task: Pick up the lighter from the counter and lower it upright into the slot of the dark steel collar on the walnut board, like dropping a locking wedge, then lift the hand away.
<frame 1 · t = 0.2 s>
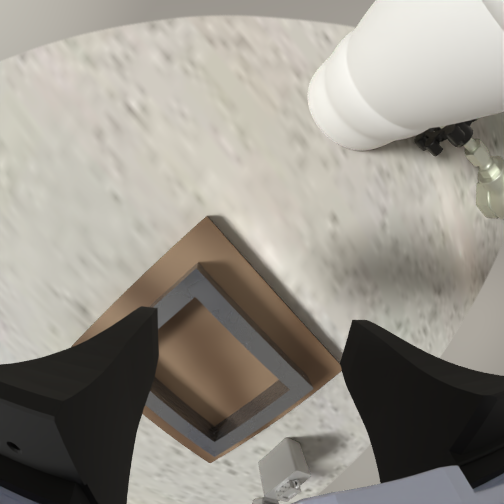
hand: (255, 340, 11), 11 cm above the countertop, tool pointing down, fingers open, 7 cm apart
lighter: (268, 461, 25), on the countertop
walnut board: (206, 359, 22), on the countertop
steel collar: (205, 365, 21), resting on walnut board
valve: (462, 169, 23), on the countertop
water bottle: (350, 106, 21), on the countertop
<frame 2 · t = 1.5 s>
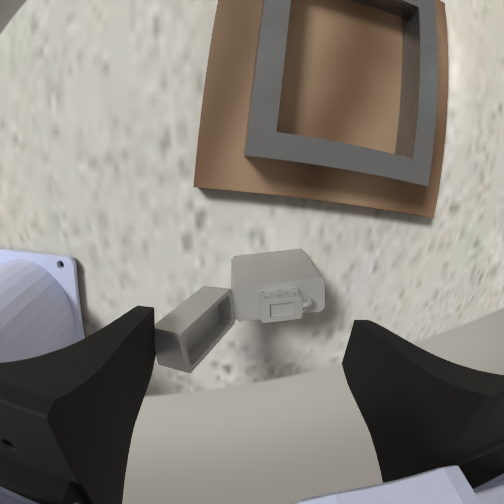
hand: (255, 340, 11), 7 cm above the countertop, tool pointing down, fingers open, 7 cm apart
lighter: (243, 268, 18), on the countertop, touching gripper
walnut board: (338, 69, 15), on the countertop
steel collar: (344, 65, 14), resting on walnut board
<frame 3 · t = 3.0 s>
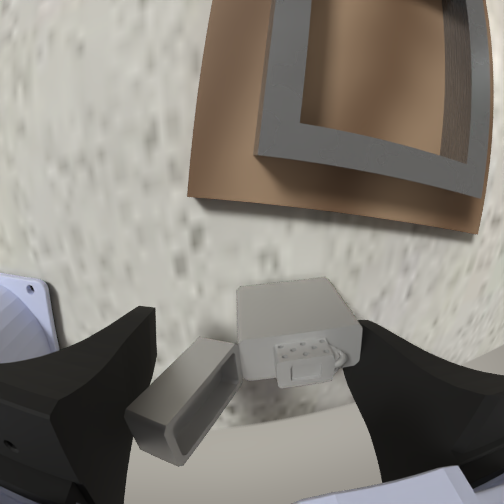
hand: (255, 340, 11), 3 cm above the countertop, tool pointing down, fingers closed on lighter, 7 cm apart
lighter: (251, 301, 14), on the countertop, touching gripper
walnut board: (370, 50, 11), on the countertop
steel collar: (380, 44, 10), resting on walnut board
when the fingers open (10 cm above the countertop, at t = 4.2 s): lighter drops 5 cm, resting on walnut board.
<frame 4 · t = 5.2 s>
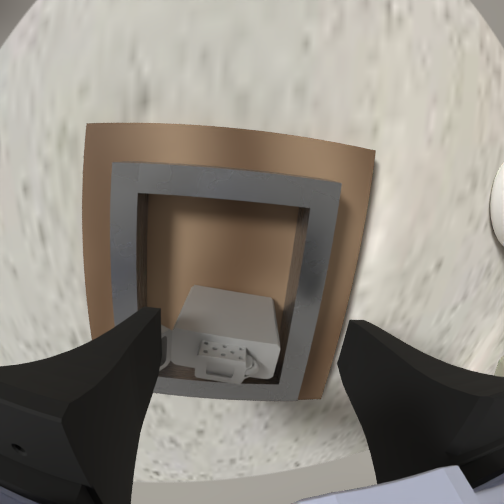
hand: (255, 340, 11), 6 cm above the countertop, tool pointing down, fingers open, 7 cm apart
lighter: (201, 300, 16), point 1 cm above the countertop, touching gripper, walnut board
walnut board: (217, 277, 17), on the countertop
steel collar: (216, 285, 16), resting on walnut board
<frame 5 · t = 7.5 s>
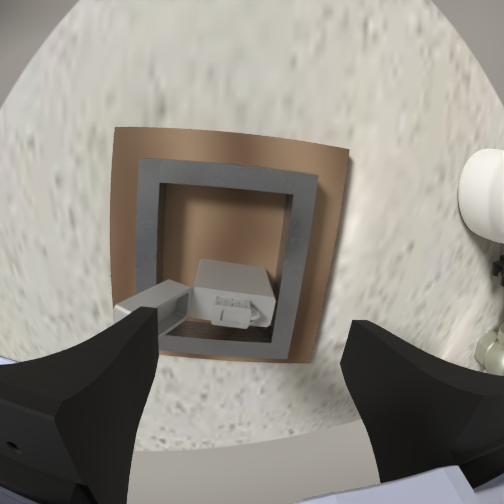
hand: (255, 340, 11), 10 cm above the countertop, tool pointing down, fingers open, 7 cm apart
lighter: (207, 271, 20), point 1 cm above the countertop, touching walnut board
walnut board: (220, 253, 20), on the countertop
steel collar: (220, 258, 19), resting on walnut board
valve: (492, 311, 24), on the countertop
water bottle: (482, 191, 21), on the countertop
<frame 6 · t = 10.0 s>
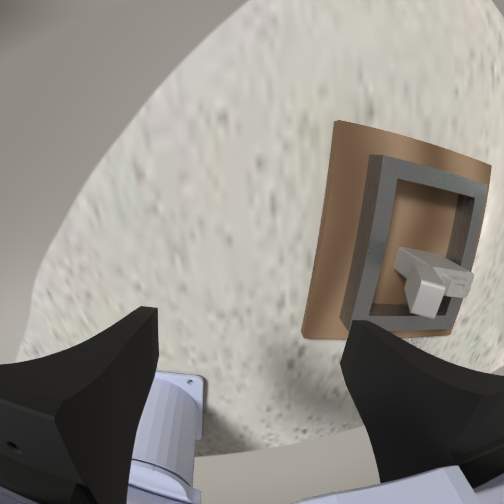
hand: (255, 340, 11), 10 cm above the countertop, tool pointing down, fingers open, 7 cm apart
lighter: (400, 258, 21), point 1 cm above the countertop, touching walnut board
walnut board: (406, 242, 22), on the countertop
steel collar: (412, 246, 21), resting on walnut board
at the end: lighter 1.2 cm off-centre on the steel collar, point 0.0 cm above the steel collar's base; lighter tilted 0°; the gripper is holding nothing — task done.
